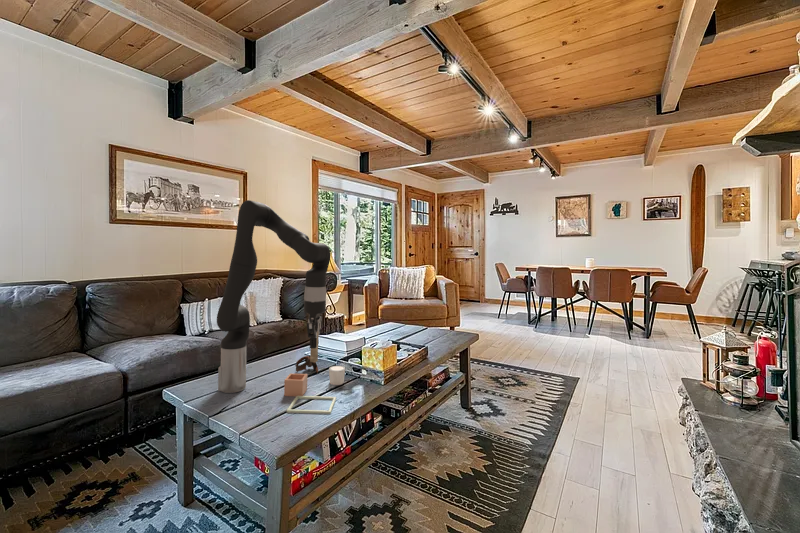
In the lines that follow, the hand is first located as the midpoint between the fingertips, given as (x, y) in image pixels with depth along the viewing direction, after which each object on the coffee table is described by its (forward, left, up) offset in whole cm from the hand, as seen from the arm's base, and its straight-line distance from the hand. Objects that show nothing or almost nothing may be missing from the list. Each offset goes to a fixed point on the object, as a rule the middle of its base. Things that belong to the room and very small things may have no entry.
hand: (314, 346), depth 125 cm
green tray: (0, 0, -22) cm, 22 cm away
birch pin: (0, 0, -5) cm, 5 cm away
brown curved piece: (-11, +36, -23) cm, 44 cm away
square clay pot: (-9, +11, -22) cm, 26 cm away
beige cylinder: (+5, +22, -22) cm, 32 cm away
